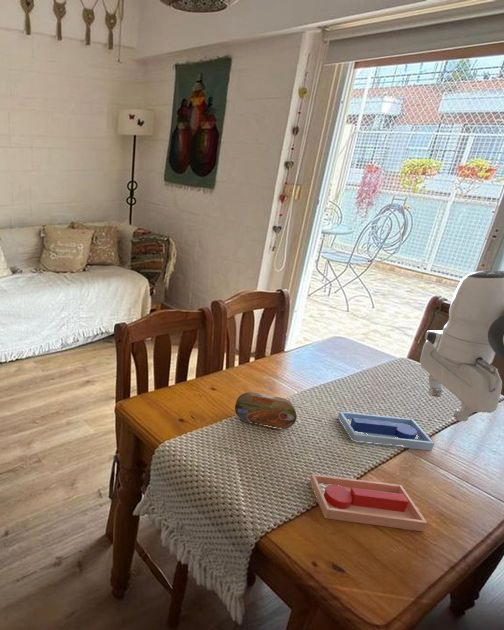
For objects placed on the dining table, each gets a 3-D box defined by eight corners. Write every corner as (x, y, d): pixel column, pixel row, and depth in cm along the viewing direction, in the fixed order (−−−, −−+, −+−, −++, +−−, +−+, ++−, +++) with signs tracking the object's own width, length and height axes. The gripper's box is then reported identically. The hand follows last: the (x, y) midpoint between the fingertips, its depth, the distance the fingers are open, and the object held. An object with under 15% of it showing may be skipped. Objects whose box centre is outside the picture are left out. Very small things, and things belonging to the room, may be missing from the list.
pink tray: (398, 493, 95) (401, 484, 94) (423, 531, 86) (427, 523, 85) (309, 481, 98) (311, 473, 97) (324, 518, 88) (327, 509, 87)
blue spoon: (354, 434, 113) (357, 425, 112) (347, 423, 117) (350, 414, 116) (419, 441, 110) (422, 432, 109) (409, 429, 115) (412, 420, 114)
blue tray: (410, 426, 117) (412, 418, 116) (431, 450, 108) (434, 443, 107) (337, 418, 120) (339, 411, 119) (352, 442, 111) (354, 434, 110)
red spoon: (396, 499, 93) (400, 489, 92) (408, 518, 88) (412, 507, 87) (320, 489, 95) (323, 479, 94) (328, 507, 90) (331, 496, 89)
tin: (232, 419, 119) (237, 393, 116) (233, 413, 122) (238, 387, 118) (293, 433, 114) (299, 406, 110) (292, 426, 116) (299, 399, 113)
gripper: (522, 373, 79) (496, 437, 84) (453, 330, 98) (436, 384, 103) (482, 371, 80) (459, 434, 85) (422, 328, 99) (406, 382, 104)
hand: (446, 406), depth 94 cm, fingers open, 8 cm apart
